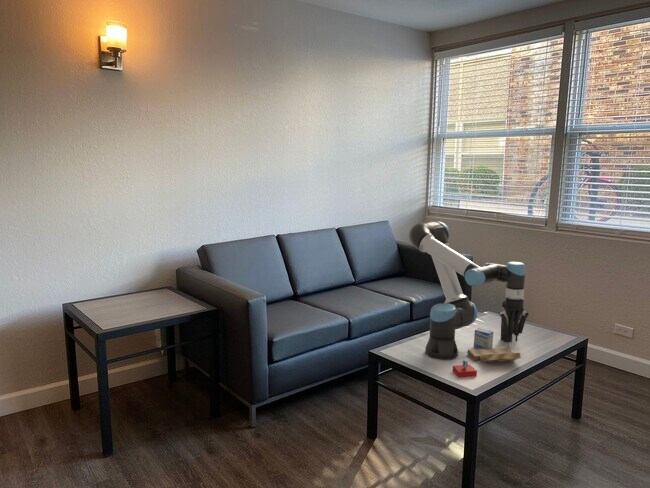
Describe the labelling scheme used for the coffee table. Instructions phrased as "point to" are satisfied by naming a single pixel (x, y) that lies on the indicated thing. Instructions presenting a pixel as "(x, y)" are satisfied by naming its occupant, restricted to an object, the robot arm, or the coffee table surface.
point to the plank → (500, 357)
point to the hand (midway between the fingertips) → (512, 348)
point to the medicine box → (483, 339)
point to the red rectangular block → (464, 370)
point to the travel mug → (503, 335)
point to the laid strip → (487, 352)
